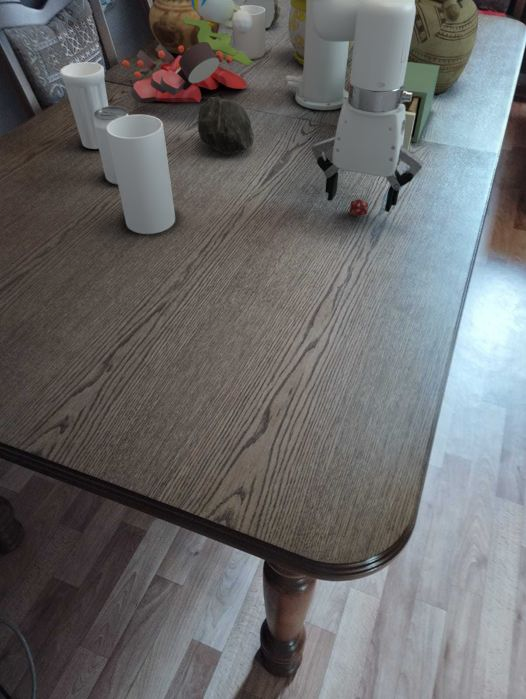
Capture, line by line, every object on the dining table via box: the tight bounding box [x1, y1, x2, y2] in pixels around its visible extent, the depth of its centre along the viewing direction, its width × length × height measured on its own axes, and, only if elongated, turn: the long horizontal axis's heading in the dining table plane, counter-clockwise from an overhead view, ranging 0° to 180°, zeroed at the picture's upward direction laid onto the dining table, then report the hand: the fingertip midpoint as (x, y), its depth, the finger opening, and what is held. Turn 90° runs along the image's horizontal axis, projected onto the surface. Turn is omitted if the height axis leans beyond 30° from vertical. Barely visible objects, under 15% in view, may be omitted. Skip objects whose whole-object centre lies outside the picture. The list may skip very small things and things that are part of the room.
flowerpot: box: [288, 0, 354, 66], centre depth 140 cm, size 18×18×16 cm
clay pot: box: [148, 0, 221, 56], centre depth 146 cm, size 19×19×20 cm
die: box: [348, 198, 369, 218], centre depth 92 cm, size 3×3×3 cm
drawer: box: [402, 96, 421, 151], centre depth 108 cm, size 19×12×8 cm, turn 159°
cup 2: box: [107, 114, 176, 235], centre depth 86 cm, size 8×8×16 cm
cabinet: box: [404, 62, 440, 143], centre depth 115 cm, size 16×13×10 cm
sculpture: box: [241, 0, 281, 30], centre depth 168 cm, size 11×18×12 cm
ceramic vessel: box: [407, 0, 479, 95], centre depth 123 cm, size 19×21×30 cm
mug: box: [232, 5, 266, 60], centre depth 146 cm, size 9×12×11 cm
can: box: [94, 105, 129, 186], centre depth 98 cm, size 6×6×12 cm
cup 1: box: [59, 61, 109, 150], centre depth 107 cm, size 8×8×14 cm
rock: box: [197, 96, 255, 155], centre depth 108 cm, size 10×11×10 cm
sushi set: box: [121, 0, 254, 104], centre depth 124 cm, size 29×30×24 cm
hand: (360, 202), depth 91 cm, fingers open, 9 cm apart
